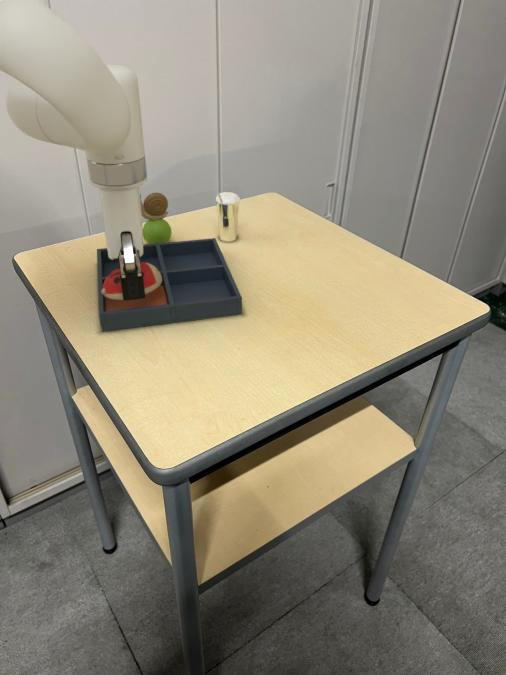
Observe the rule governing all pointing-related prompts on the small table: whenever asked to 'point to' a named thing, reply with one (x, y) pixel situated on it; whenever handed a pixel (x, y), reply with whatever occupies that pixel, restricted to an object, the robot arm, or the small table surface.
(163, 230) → the snail figurine
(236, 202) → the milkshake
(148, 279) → the ladybug figurine
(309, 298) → the small table surface
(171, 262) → the four-compartment sorting tray
